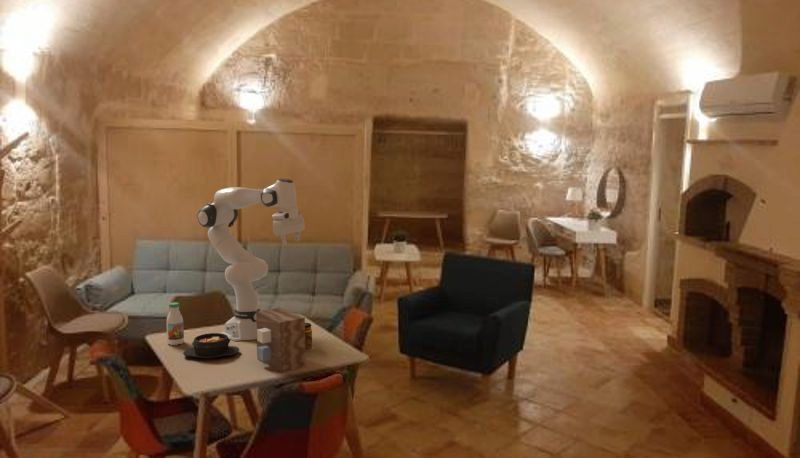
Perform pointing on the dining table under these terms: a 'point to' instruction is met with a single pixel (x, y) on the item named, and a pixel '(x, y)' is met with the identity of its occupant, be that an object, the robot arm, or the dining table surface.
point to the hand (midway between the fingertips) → (291, 242)
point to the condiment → (308, 337)
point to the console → (283, 338)
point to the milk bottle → (175, 325)
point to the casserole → (211, 346)
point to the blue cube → (264, 353)
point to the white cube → (264, 335)
